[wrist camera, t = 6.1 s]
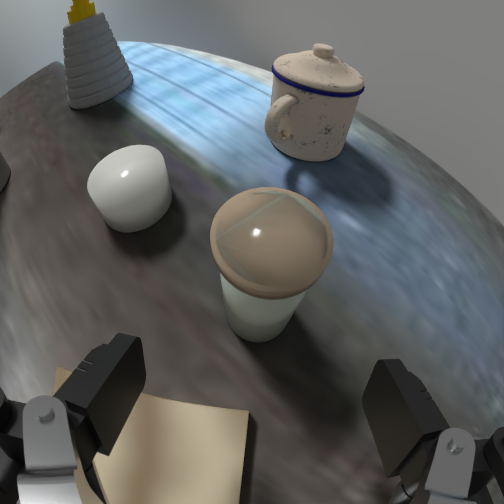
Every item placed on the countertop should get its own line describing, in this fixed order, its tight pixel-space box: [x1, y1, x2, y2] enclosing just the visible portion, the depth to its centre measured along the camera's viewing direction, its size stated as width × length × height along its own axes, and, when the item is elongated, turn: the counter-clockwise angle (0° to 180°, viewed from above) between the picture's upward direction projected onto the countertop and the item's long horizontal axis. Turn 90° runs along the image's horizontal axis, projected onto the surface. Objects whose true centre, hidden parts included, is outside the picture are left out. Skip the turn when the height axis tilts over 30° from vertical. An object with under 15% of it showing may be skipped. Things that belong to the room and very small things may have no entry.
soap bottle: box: [63, 0, 133, 109], centre depth 28 cm, size 12×12×20 cm
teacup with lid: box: [265, 44, 364, 162], centre depth 24 cm, size 12×9×12 cm
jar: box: [210, 187, 333, 342], centre depth 15 cm, size 5×5×10 cm
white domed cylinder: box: [87, 145, 172, 233], centre depth 22 cm, size 7×7×4 cm
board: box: [53, 366, 249, 504], centre depth 12 cm, size 14×14×1 cm
